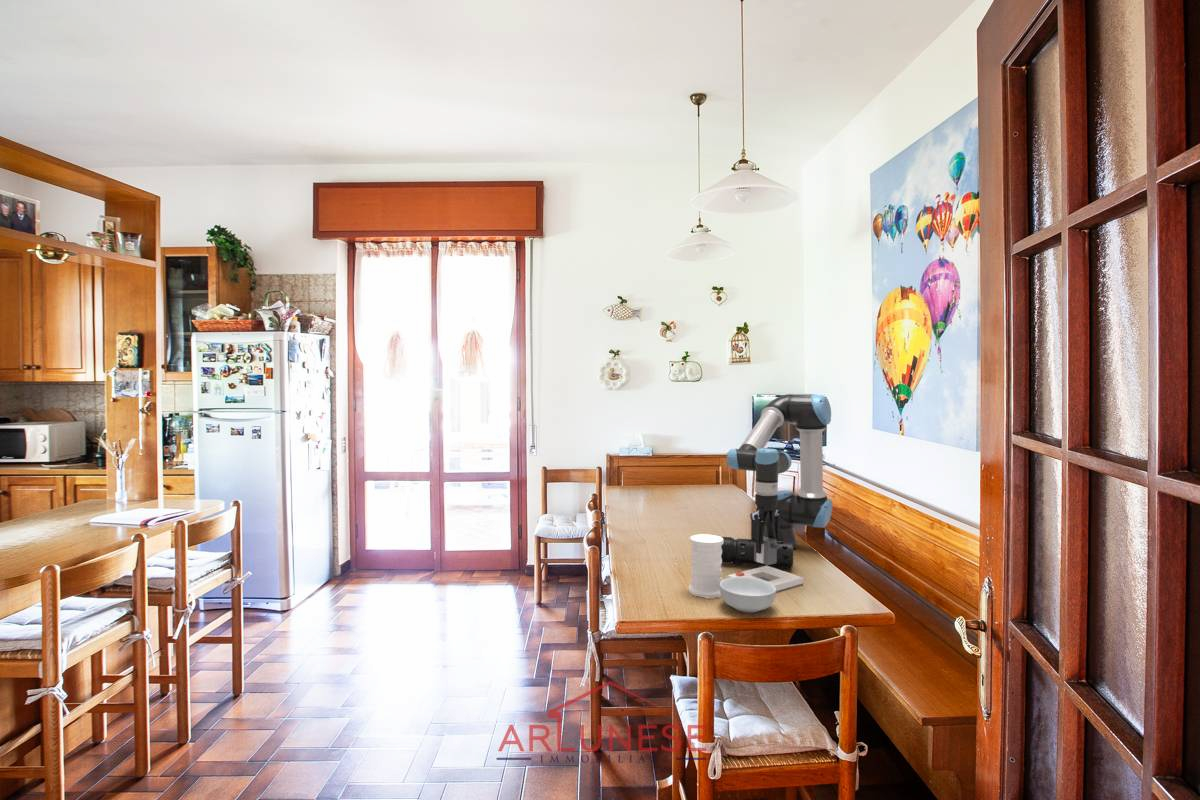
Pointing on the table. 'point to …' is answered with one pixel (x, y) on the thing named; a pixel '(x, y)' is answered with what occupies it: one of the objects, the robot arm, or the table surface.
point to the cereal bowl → (747, 593)
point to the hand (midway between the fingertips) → (765, 561)
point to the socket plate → (772, 577)
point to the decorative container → (706, 565)
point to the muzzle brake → (744, 553)
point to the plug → (768, 550)
